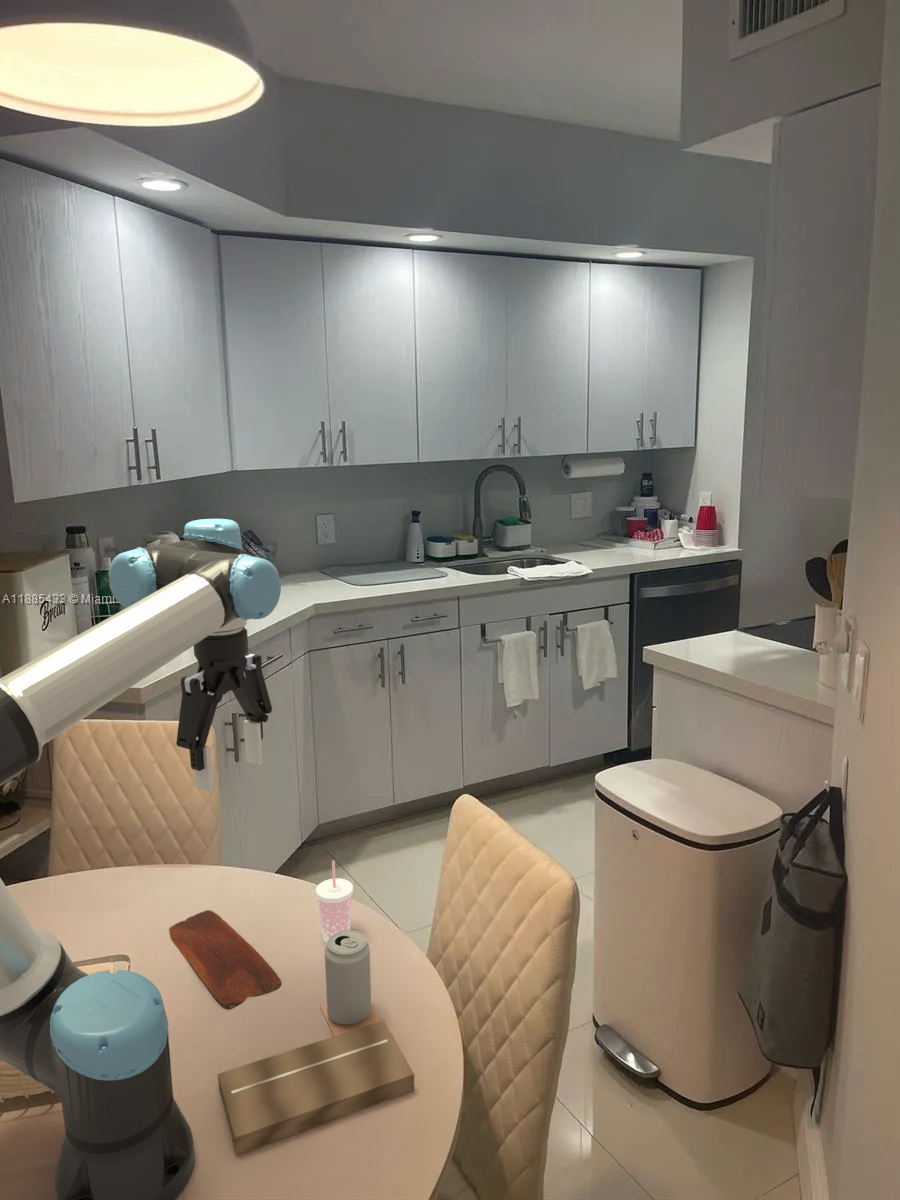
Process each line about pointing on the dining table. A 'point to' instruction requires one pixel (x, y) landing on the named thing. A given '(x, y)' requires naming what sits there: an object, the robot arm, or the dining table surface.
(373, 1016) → the end tile
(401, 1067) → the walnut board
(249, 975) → the wooden tablet
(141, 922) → the dining table surface
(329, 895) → the beverage cup
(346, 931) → the beverage can
